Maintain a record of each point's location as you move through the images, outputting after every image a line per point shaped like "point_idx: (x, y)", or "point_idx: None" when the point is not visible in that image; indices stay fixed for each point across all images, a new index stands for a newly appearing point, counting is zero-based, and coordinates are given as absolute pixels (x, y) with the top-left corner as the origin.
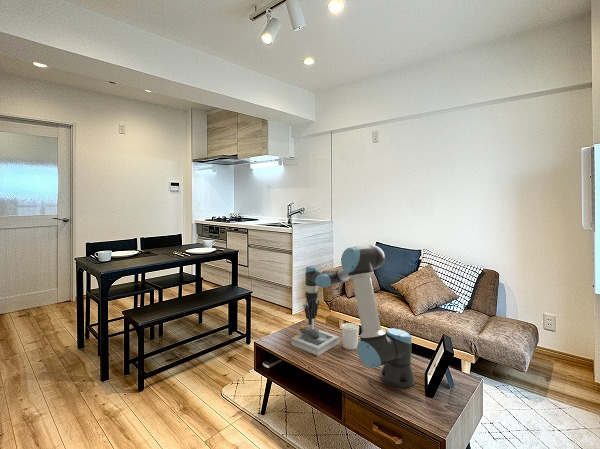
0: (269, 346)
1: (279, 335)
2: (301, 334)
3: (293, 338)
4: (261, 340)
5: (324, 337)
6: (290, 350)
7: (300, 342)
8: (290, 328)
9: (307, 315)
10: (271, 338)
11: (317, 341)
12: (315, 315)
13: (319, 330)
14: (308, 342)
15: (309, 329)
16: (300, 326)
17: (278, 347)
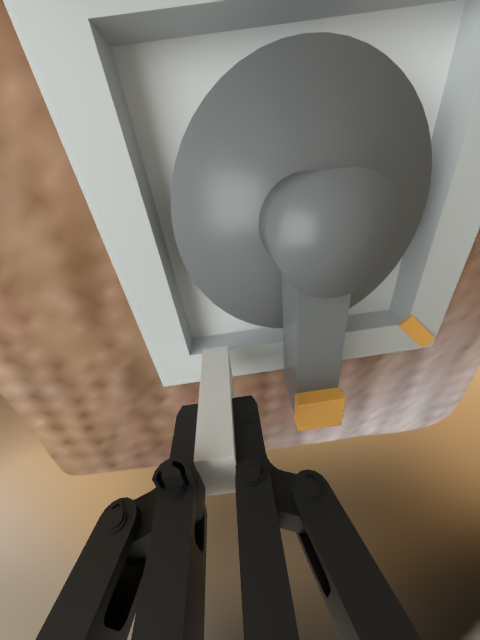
0: (469, 369)
1: None
2: None
3: (431, 333)
4: (423, 425)
5: (220, 131)
6: (477, 261)
7: (461, 249)
8: None
9: (373, 580)
10: (382, 420)
11: (383, 103)
12: (132, 527)
13: (145, 318)
14: (459, 174)
15: (320, 333)
16: (341, 418)
17: (463, 336)
